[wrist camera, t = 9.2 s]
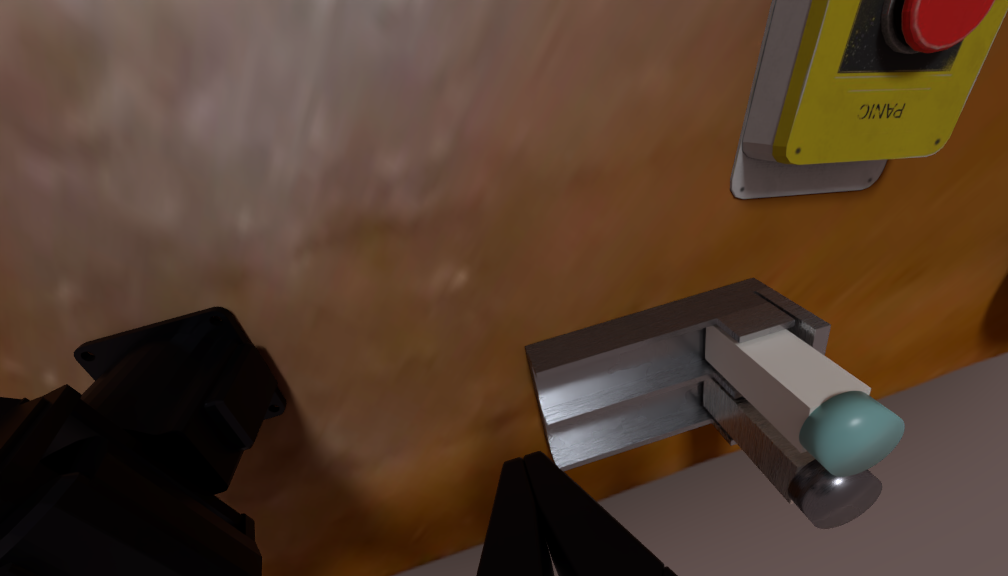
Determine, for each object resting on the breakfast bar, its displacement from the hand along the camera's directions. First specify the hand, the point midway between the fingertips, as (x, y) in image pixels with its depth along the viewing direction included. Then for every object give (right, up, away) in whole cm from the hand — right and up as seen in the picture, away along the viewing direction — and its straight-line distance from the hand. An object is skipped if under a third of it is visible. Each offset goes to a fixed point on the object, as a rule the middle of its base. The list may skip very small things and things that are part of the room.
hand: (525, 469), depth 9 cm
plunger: (+12, +1, +15) cm, 20 cm away
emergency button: (+15, +16, +11) cm, 25 cm away
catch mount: (+8, -1, +17) cm, 19 cm away
